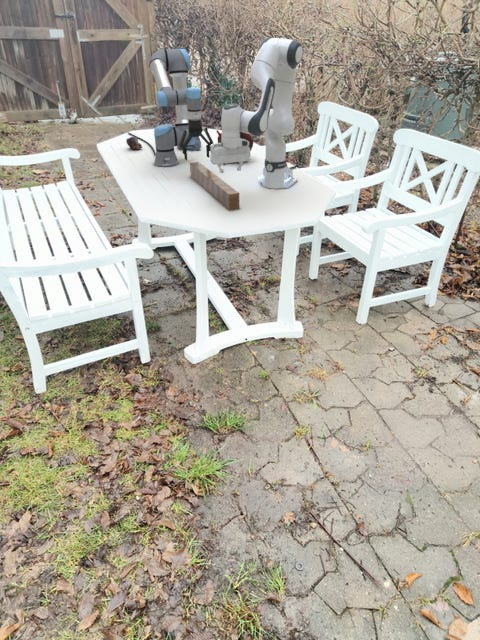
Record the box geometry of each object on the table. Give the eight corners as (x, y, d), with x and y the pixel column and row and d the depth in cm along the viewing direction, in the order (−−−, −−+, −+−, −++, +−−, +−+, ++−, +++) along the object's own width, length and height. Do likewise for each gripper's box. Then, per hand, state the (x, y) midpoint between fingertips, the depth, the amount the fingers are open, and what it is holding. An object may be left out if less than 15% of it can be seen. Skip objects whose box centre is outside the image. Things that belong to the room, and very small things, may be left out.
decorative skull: (214, 133, 304) (214, 130, 280) (248, 125, 303) (250, 121, 280) (221, 165, 311) (221, 165, 287) (254, 158, 310) (257, 157, 286)
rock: (139, 148, 333) (125, 149, 329) (137, 135, 329) (123, 137, 325) (143, 149, 323) (130, 150, 319) (141, 136, 320) (128, 137, 316)
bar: (190, 176, 271) (189, 162, 266) (199, 175, 273) (198, 161, 268) (229, 210, 224) (229, 194, 220) (239, 208, 226) (239, 192, 222)
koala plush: (201, 150, 321) (199, 121, 310) (176, 151, 320) (173, 121, 309) (201, 144, 335) (199, 116, 324) (177, 145, 334) (174, 117, 323)
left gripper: (175, 122, 242) (178, 162, 254) (218, 118, 250) (219, 157, 262) (171, 119, 248) (174, 159, 260) (213, 116, 256) (214, 154, 268)
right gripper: (213, 145, 206) (213, 175, 213) (252, 141, 214) (251, 171, 221) (207, 142, 210) (208, 172, 218) (246, 138, 218) (245, 167, 226)
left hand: (197, 158), depth 261 cm, fingers open, 13 cm apart
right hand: (230, 171), depth 220 cm, fingers open, 8 cm apart
